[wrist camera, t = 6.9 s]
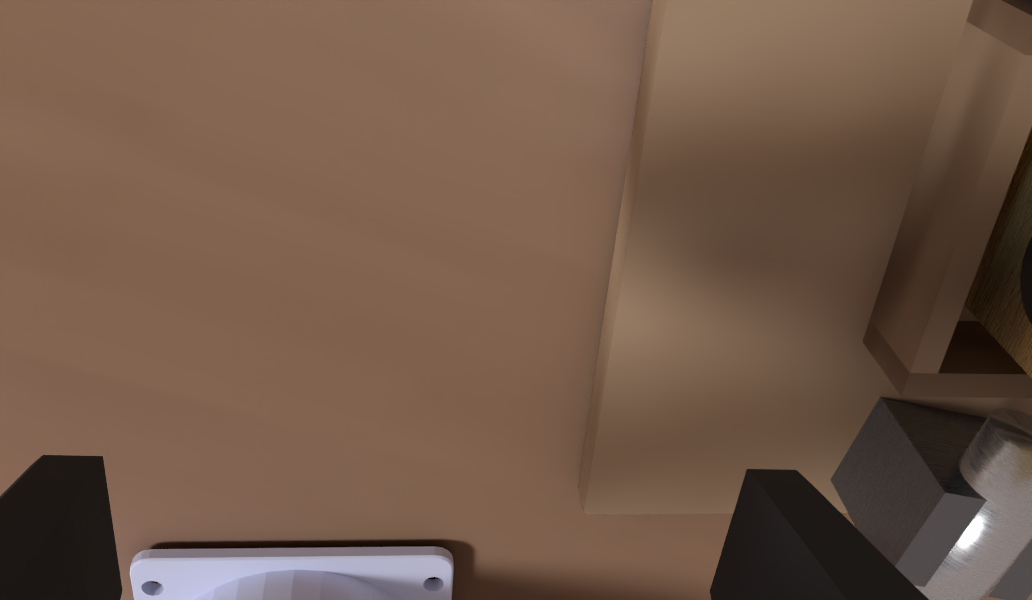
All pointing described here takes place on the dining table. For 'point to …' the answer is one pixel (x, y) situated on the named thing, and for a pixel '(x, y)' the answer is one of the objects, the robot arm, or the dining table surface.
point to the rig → (801, 239)
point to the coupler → (1009, 269)
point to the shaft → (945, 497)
